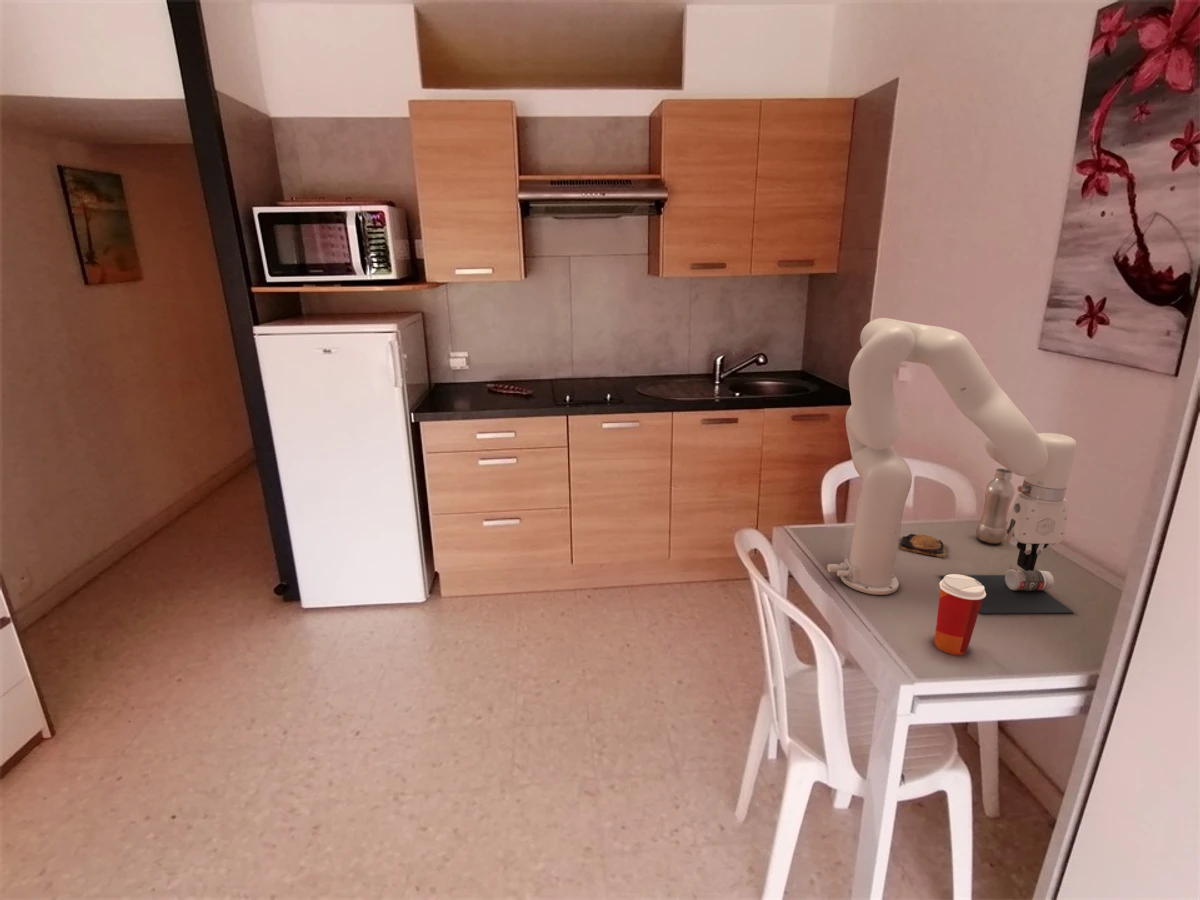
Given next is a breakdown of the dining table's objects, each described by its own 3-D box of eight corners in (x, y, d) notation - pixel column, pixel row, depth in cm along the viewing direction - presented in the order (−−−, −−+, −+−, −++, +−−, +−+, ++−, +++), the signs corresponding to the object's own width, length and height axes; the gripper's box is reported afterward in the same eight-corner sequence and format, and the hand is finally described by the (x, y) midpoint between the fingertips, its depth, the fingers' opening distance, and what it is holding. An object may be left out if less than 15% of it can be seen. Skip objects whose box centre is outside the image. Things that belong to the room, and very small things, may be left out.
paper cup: (958, 634, 123) (971, 572, 119) (981, 658, 116) (996, 593, 112) (919, 634, 123) (931, 572, 119) (941, 658, 116) (954, 593, 112)
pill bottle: (1021, 585, 136) (1058, 585, 136) (1012, 565, 138) (1049, 566, 138) (1009, 593, 140) (1045, 593, 140) (1001, 574, 142) (1037, 574, 142)
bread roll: (945, 546, 161) (948, 533, 160) (945, 559, 154) (948, 546, 153) (901, 537, 166) (903, 525, 165) (899, 549, 159) (901, 537, 158)
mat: (980, 614, 130) (981, 612, 130) (939, 576, 146) (939, 575, 145) (1073, 613, 131) (1073, 612, 131) (1022, 576, 146) (1022, 575, 146)
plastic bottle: (968, 537, 166) (983, 468, 160) (988, 534, 168) (1002, 465, 162) (989, 547, 160) (1005, 476, 154) (1009, 544, 162) (1025, 473, 156)
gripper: (1020, 497, 127) (1002, 576, 133) (1091, 497, 127) (1070, 576, 133) (997, 485, 134) (981, 560, 140) (1064, 484, 134) (1046, 559, 140)
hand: (1025, 567), depth 136 cm, fingers closed
